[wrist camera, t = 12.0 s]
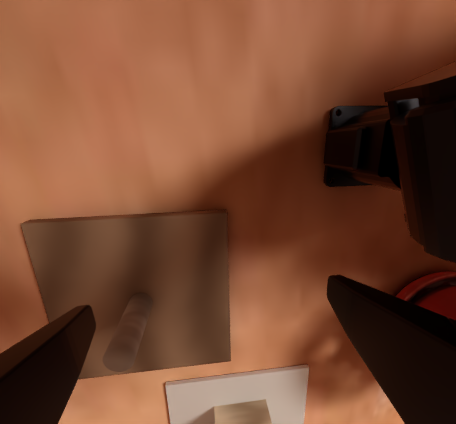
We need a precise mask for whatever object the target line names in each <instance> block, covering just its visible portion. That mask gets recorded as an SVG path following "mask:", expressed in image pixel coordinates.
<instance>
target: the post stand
mask: <svg viewBox="0 0 456 424" xmlns="http://www.w3.org/2000/svg"><path fill="white" fill-rule="evenodd" d="M21 227H22V231H23V234H24V238H25V241H26V244H27V248H28V251H29V255H30V258H31V262H32V265H33V269H34V272H35V275H36V279H37V282H38V286H39V289H40V293H41V296H42V299H43V303H44V306H45V310H46V313H47V317H48V320H49V323H51V322H52V321H54V320H55V319H57V318H59V317H60V316H62V315H63V314H65V313H67V312H68V311H70V310H71V309H73V308H75V307H76V306H80V305H90V306H91V307H92V310H93V314H94V317H95V321H96V330H95V333H94V336H93V339H92V342H91V345H90V348H89V351H88V353H87V356H86V359H85V362H84V365H83V368H82V370H81V373H80V376H79V378H78V379H86V378H94V377H102V376H111V375H119V374H127V373H136V372H144V371H152V370H161V369H169V368H178V367H186V366H194V365H203V364H211V363H219V362H228V361H231V350H230V310H229V271H228V231H227V211H226V210H210V211H191V212H172V213H152V214H133V215H114V216H95V217H76V218H56V219H37V220H28V221H26V222H24V223H21Z"/></svg>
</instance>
